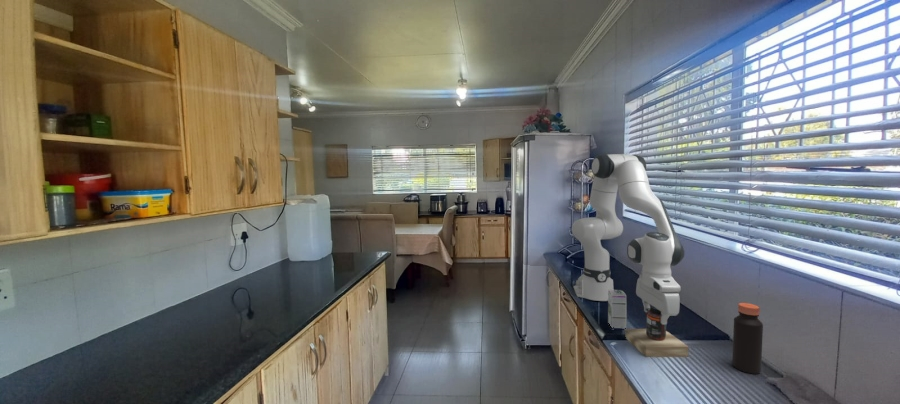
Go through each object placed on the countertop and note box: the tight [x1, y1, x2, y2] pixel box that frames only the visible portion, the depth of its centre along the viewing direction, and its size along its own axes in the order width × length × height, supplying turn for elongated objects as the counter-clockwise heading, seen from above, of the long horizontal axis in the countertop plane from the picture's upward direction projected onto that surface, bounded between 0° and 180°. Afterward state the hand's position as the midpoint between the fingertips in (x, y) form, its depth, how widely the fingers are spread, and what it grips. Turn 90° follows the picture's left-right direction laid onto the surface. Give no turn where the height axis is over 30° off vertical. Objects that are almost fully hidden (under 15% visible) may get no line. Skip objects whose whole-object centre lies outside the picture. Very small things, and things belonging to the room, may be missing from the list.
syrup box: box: [607, 289, 628, 329], centre depth 136 cm, size 6×6×14 cm
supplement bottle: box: [645, 305, 667, 340], centre depth 119 cm, size 6×6×11 cm
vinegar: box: [731, 302, 764, 375], centre depth 105 cm, size 7×7×20 cm
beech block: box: [624, 328, 690, 358], centre depth 120 cm, size 14×14×4 cm
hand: (654, 317), depth 120 cm, fingers open, 8 cm apart
